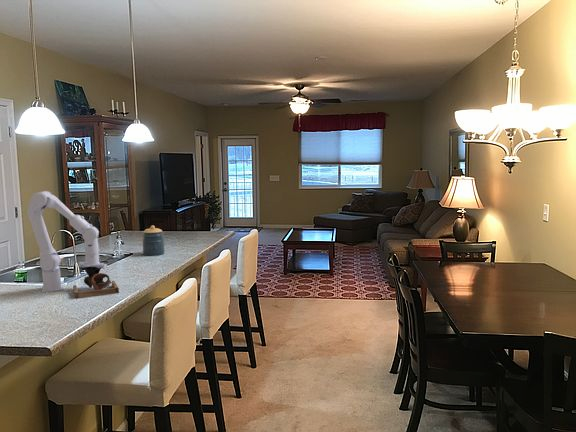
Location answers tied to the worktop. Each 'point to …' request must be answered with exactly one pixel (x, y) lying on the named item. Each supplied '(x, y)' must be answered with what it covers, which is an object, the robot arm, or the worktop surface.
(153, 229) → the canister
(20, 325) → the worktop surface
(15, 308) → the worktop surface
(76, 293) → the corral
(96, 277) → the pottery mug
